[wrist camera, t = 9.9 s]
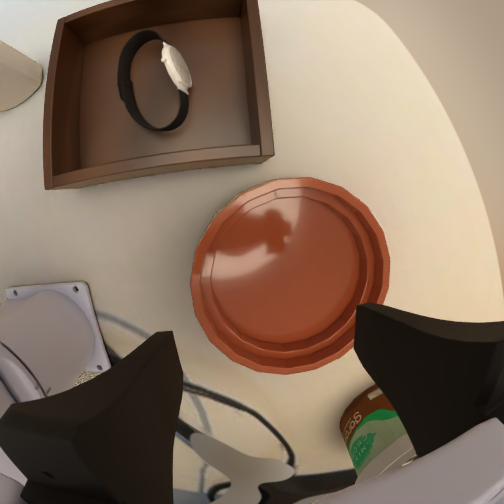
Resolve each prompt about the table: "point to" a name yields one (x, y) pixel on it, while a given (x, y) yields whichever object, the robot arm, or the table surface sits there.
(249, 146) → the holder
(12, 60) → the eye dropper bottle
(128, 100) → the watch
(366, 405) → the food container
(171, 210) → the table surface
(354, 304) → the bowl
